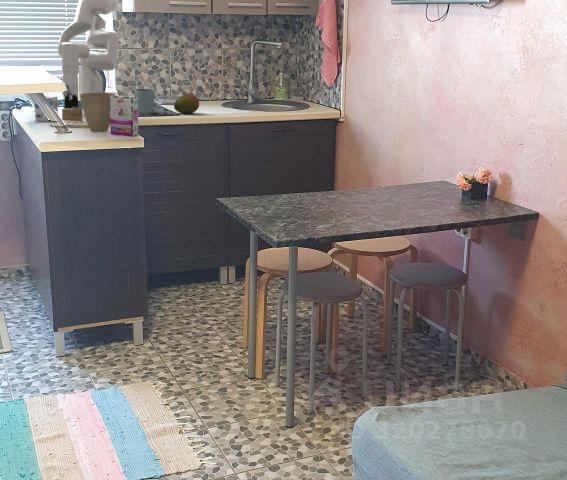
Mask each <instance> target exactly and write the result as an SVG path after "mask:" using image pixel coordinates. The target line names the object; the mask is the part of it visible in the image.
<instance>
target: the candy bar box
mask: <svg viewBox="0 0 567 480" xmlns="http://www.w3.org/2000/svg"><path fill="white" fill-rule="evenodd" d="M109 130H110V135H113V136H122V135H123V136H125V137H137V136H139V113H138V97H135V95H134V96H133V95H116V94H115V95H114V96H110V126H109Z"/></svg>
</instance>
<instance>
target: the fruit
mask: <svg viewBox="0 0 567 480" xmlns="http://www.w3.org/2000/svg"><path fill="white" fill-rule="evenodd" d="M173 107H174V110H175V111H176V112H177V113H179V114H185V115H186V114H192V113H193V114H194V113H195V112H197V110H198V109H199V107H200V101H199V99H198V97H197V96H195V95H194V94H191V93H190V94H183V95H181V96H179V97H178V98H177V99H176V100H175V102H174V103H173Z"/></svg>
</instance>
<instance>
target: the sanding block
mask: <svg viewBox="0 0 567 480" xmlns="http://www.w3.org/2000/svg"><path fill="white" fill-rule="evenodd" d="M82 112H83V108H79V107H72V108H71V109H67V108H64V107H63V108H62V109H61V113H62V114H61V115H62V119H61V120H70V121H84V119H83V118H84V115H83V113H82Z"/></svg>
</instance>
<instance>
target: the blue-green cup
mask: <svg viewBox="0 0 567 480" xmlns="http://www.w3.org/2000/svg"><path fill="white" fill-rule="evenodd" d="M155 90H156V89H153V88H135V89H134V92H135V93H134V94H135V95H134V97H138V114H139V115H140V114H143V115H146V114H147V115H149V114H153V113H154V107H155V106H154V102H155Z"/></svg>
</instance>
